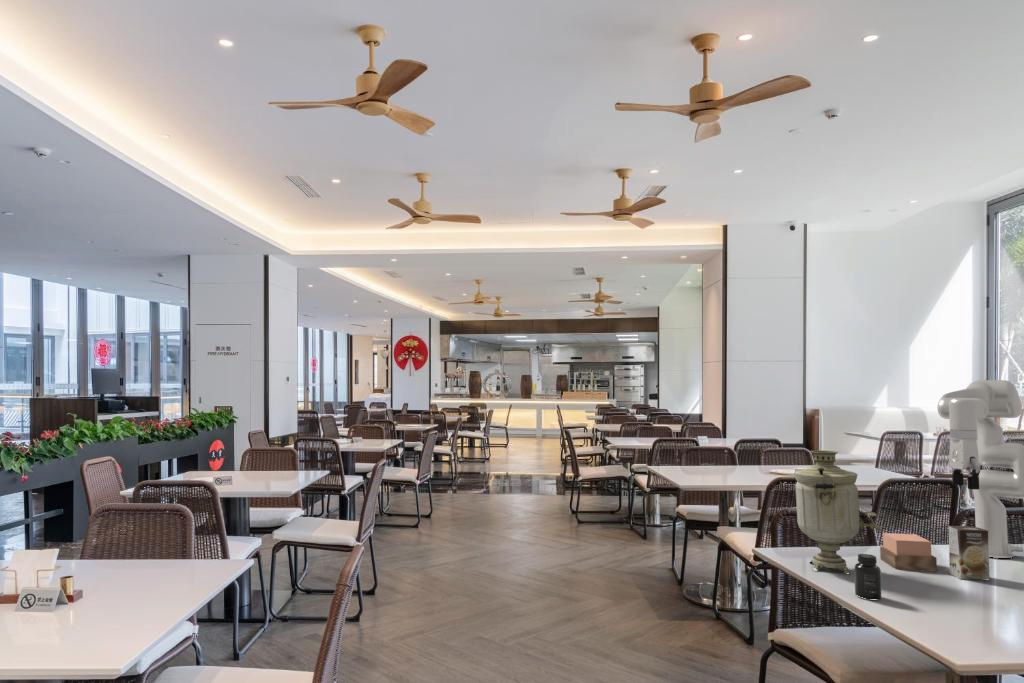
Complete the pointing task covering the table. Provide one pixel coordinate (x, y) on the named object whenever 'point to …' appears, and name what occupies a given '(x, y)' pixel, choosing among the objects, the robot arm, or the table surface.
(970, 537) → the coffee box
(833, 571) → the table surface
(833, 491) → the samovar
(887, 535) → the tower top block
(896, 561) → the tower base block
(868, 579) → the supplement bottle
